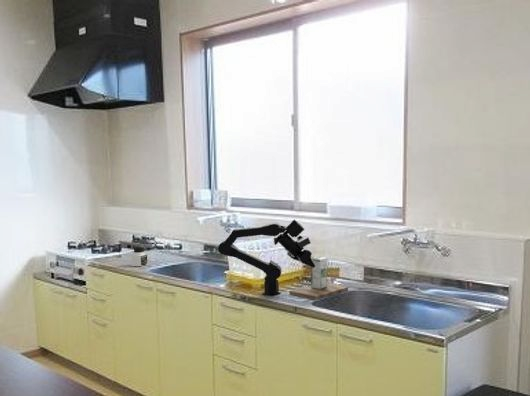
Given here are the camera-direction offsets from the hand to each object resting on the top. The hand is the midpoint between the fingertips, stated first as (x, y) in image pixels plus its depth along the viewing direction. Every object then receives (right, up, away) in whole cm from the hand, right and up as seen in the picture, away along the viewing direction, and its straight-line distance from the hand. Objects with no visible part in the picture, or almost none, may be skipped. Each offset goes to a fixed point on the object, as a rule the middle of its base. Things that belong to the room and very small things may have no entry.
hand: (310, 265), depth 254 cm
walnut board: (+4, -13, -1) cm, 13 cm away
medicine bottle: (-100, -10, +75) cm, 125 cm away
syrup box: (+4, -11, +2) cm, 12 cm away
